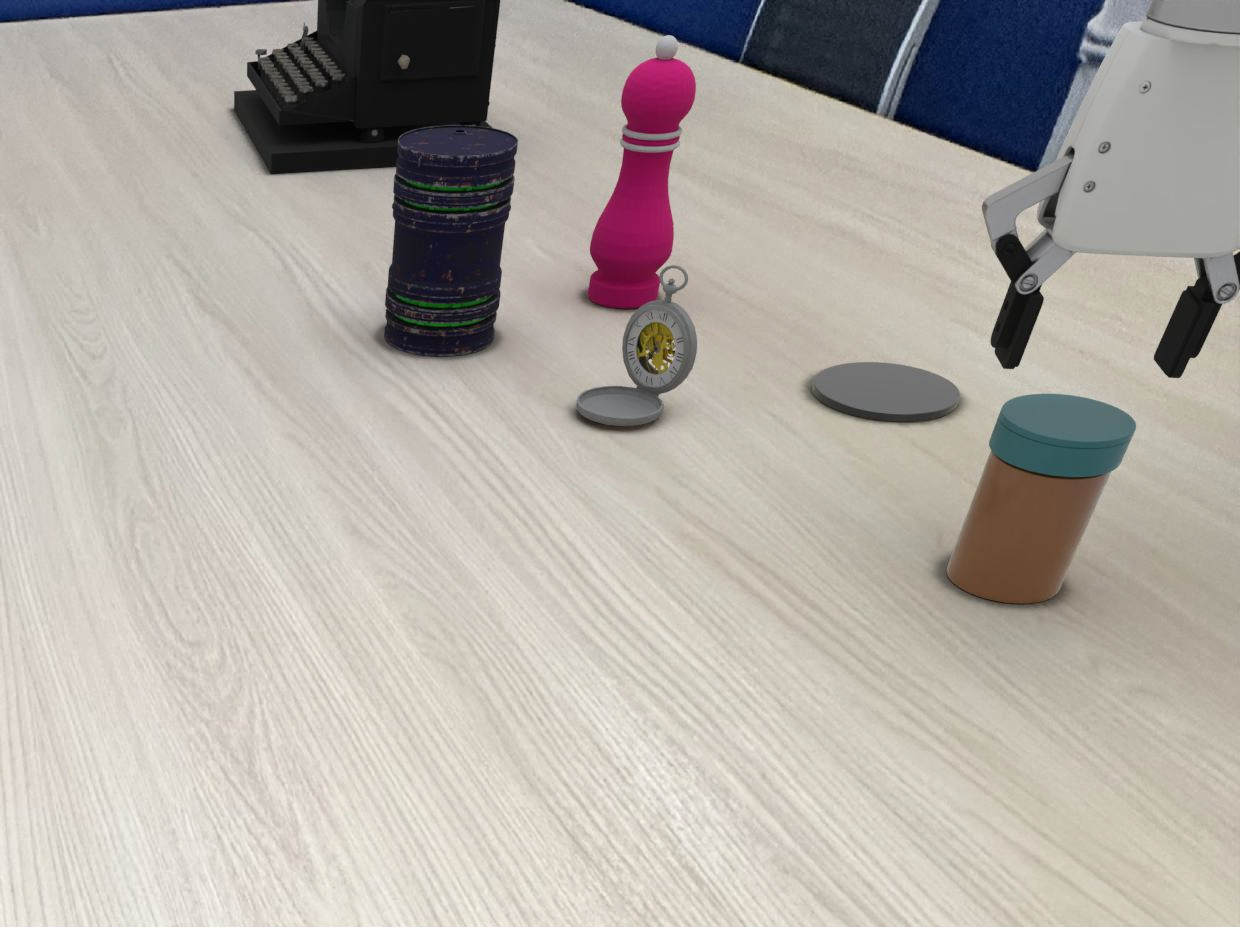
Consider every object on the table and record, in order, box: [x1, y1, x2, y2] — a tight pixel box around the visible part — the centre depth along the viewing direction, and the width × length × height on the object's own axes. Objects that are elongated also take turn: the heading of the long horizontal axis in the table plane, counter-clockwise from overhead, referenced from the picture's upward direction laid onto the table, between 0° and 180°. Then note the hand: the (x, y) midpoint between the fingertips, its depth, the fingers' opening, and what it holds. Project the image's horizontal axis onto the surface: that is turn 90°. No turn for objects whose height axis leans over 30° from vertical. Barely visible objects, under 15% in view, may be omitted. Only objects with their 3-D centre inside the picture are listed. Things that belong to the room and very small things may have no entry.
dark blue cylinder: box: [383, 125, 519, 357], centre depth 121 cm, size 10×10×15 cm
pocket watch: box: [575, 264, 698, 427], centre depth 110 cm, size 8×8×10 cm
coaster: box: [811, 361, 961, 423], centre depth 115 cm, size 11×11×1 cm
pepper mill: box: [587, 34, 697, 310], centre depth 125 cm, size 7×7×20 cm
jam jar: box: [946, 450, 1113, 605], centre depth 90 cm, size 7×7×10 cm
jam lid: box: [988, 393, 1137, 477], centre depth 87 cm, size 7×7×2 cm
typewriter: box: [233, 0, 501, 175], centre depth 167 cm, size 31×27×25 cm
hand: (1085, 364), depth 84 cm, fingers open, 8 cm apart
